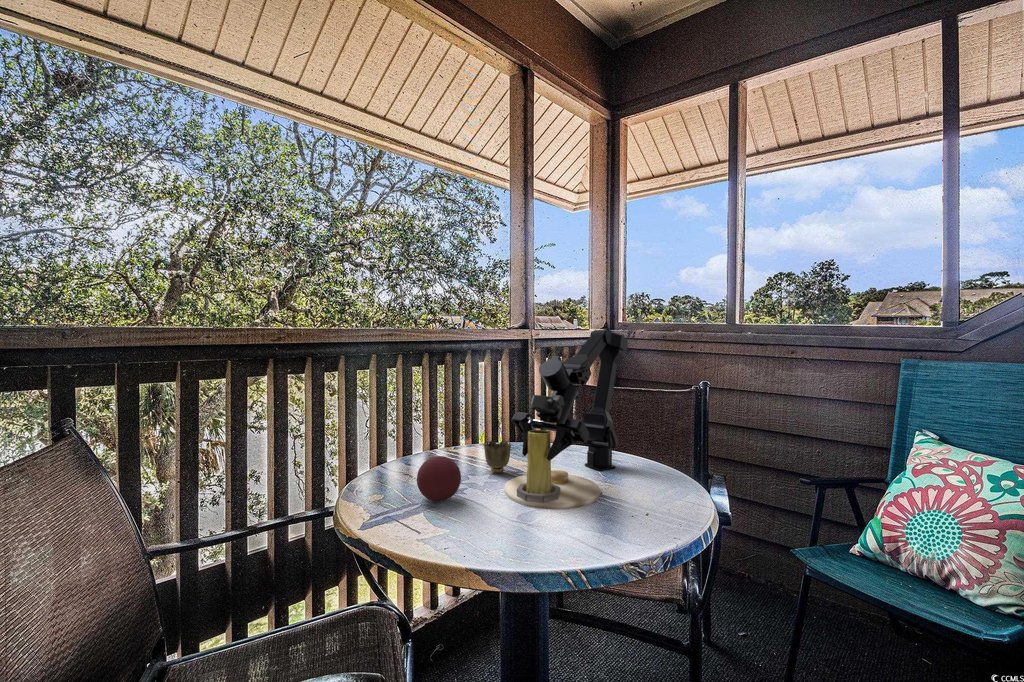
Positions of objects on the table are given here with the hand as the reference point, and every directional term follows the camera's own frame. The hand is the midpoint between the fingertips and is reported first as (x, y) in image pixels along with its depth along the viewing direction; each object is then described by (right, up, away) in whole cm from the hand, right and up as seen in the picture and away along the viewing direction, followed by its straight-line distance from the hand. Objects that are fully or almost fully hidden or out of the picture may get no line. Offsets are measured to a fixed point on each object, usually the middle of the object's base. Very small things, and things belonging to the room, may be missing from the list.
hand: (535, 457), depth 108 cm
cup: (-9, -10, +22) cm, 26 cm away
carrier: (+4, -10, +7) cm, 13 cm away
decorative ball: (-22, -10, 0) cm, 24 cm away
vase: (+1, -9, +2) cm, 9 cm away
